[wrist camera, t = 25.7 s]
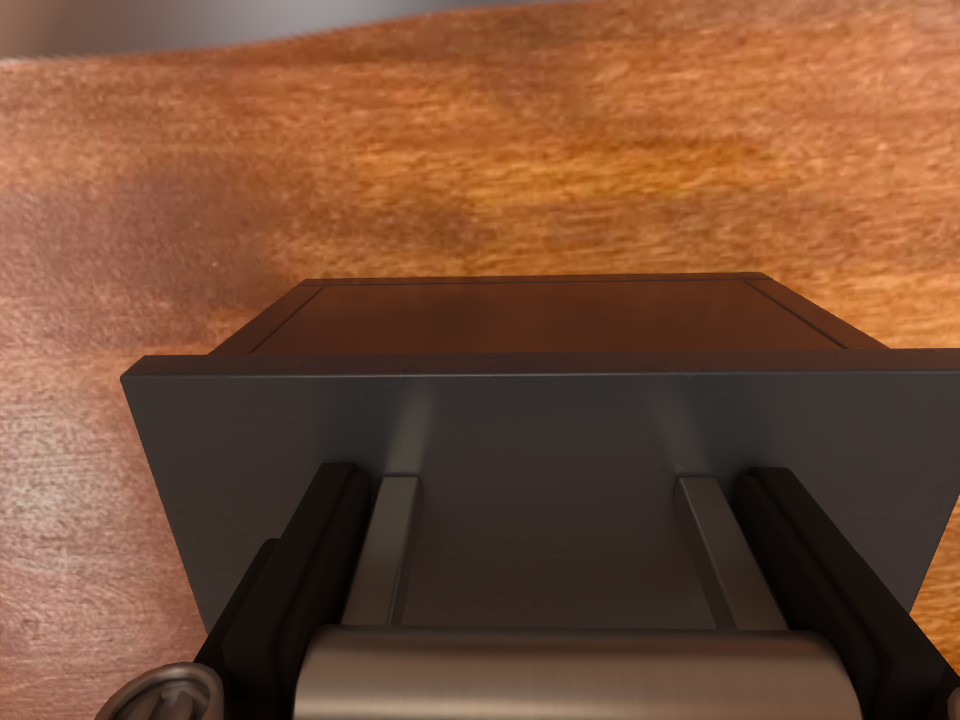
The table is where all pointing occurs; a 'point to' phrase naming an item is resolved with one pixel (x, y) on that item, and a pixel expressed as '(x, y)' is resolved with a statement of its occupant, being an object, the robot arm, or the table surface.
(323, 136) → the table surface
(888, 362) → the lid
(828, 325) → the open gift box
